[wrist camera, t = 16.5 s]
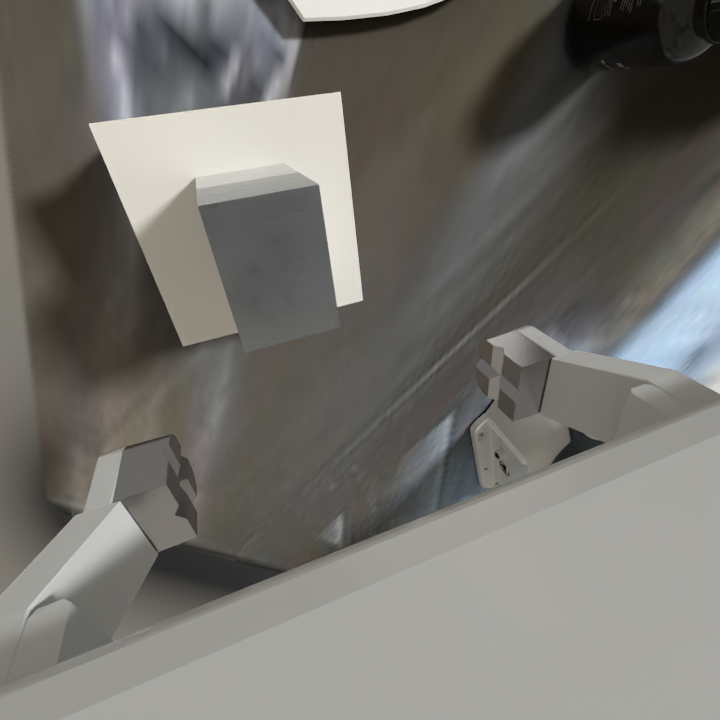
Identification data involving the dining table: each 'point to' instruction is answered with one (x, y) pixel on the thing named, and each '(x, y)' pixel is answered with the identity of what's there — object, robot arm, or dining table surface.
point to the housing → (270, 252)
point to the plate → (353, 8)
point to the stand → (213, 156)
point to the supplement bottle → (640, 32)
